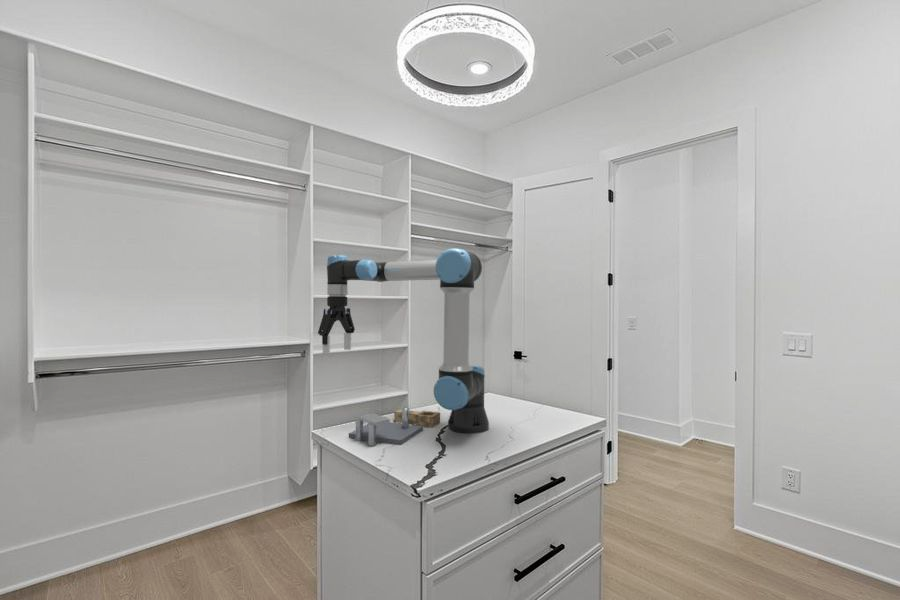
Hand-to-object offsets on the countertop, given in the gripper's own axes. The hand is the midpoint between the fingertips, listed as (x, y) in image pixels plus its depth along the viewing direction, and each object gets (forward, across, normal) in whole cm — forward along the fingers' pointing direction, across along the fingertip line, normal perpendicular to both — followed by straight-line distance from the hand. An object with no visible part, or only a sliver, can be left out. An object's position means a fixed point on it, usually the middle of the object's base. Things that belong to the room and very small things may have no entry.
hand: (337, 351), depth 169 cm
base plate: (+27, +6, +24) cm, 37 cm away
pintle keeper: (+27, +9, +24) cm, 38 cm away
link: (+27, -11, +28) cm, 41 cm away
